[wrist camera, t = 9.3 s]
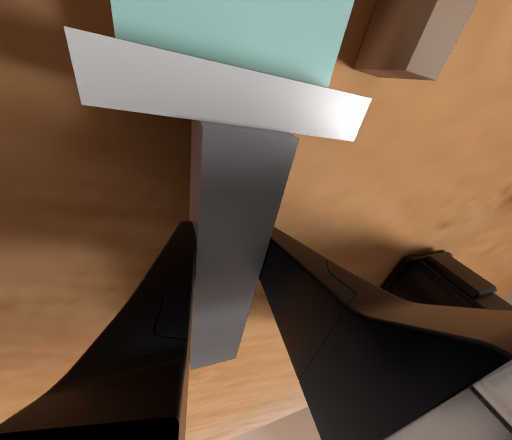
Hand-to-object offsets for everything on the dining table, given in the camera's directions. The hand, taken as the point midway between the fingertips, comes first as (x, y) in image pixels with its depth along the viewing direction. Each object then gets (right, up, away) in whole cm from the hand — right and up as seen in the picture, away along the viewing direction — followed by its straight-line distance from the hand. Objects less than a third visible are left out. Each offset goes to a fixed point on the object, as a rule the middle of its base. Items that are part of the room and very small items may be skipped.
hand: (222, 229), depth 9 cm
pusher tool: (-1, -1, +2) cm, 2 cm away
